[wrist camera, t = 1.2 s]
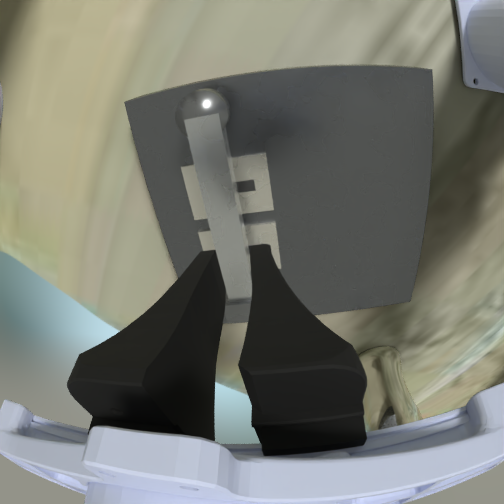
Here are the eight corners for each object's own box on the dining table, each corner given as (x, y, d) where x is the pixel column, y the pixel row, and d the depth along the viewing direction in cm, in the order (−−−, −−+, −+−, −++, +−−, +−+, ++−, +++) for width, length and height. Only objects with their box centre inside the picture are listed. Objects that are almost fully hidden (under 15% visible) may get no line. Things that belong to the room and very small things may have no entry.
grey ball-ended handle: (178, 94, 14) (168, 98, 12) (226, 84, 13) (222, 86, 12) (229, 304, 21) (227, 323, 20) (264, 300, 21) (265, 320, 20)
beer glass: (362, 340, 30) (391, 477, 18) (413, 344, 31) (450, 463, 18) (336, 377, 34) (352, 495, 22) (384, 378, 35) (408, 486, 22)
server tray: (414, 66, 15) (446, 72, 12) (401, 282, 26) (416, 315, 22) (139, 96, 17) (111, 106, 14) (200, 304, 27) (193, 340, 24)
